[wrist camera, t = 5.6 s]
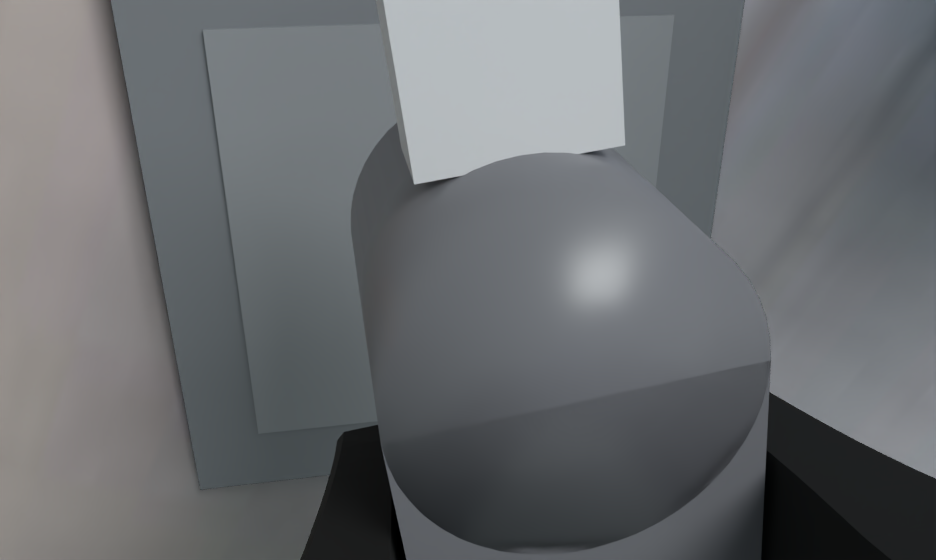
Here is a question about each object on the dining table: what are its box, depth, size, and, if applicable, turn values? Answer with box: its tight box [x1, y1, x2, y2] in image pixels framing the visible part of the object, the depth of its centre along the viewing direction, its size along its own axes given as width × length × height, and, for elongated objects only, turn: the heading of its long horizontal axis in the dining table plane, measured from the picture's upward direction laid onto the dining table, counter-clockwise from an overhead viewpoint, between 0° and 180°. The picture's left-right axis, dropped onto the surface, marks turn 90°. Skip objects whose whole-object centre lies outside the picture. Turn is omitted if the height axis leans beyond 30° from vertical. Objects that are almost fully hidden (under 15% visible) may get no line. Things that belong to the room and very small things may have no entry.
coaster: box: [111, 0, 745, 490], centre depth 18 cm, size 12×12×1 cm
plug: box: [351, 0, 771, 560], centre depth 11 cm, size 11×4×4 cm, turn 7°
